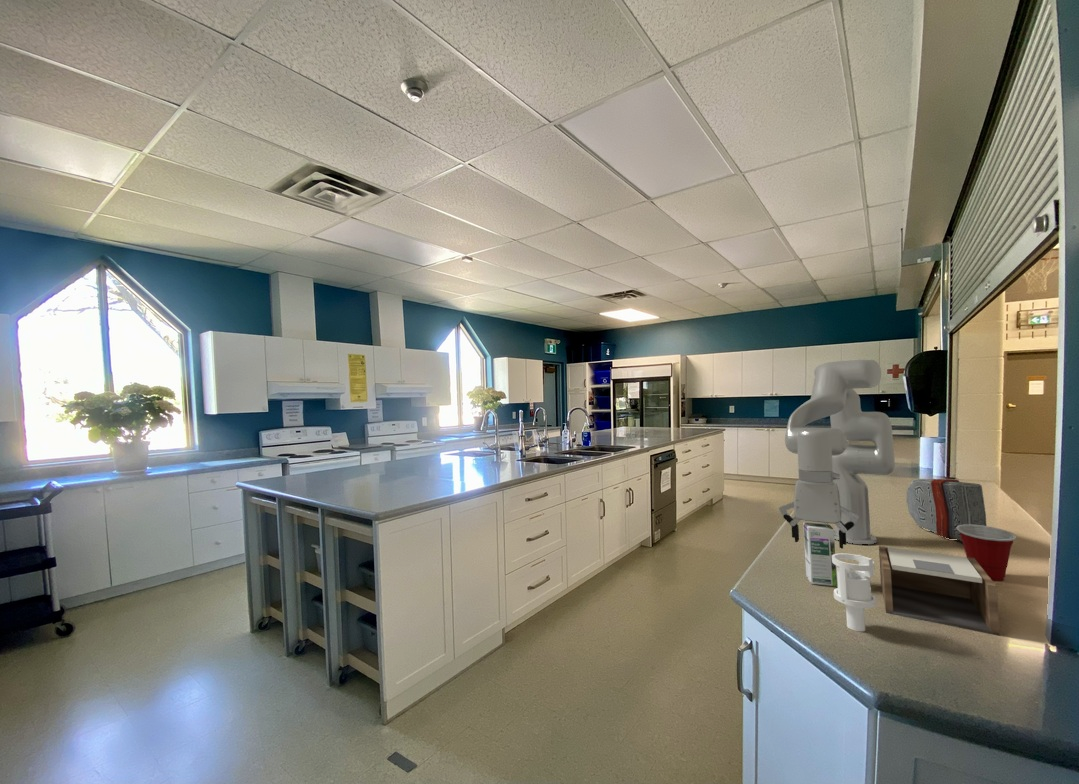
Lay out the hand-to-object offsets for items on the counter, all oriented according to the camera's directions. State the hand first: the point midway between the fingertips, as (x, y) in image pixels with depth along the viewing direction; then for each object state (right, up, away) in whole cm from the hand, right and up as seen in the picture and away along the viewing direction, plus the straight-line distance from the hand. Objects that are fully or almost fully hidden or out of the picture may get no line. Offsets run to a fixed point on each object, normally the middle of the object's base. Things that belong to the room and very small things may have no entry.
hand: (818, 543), depth 110 cm
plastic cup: (+44, -9, 0) cm, 44 cm away
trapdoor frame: (+16, -9, -15) cm, 23 cm away
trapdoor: (+16, 0, -14) cm, 21 cm away
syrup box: (+1, -10, 0) cm, 10 cm away
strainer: (-7, -9, -23) cm, 26 cm away
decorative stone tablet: (+65, -9, +34) cm, 74 cm away
